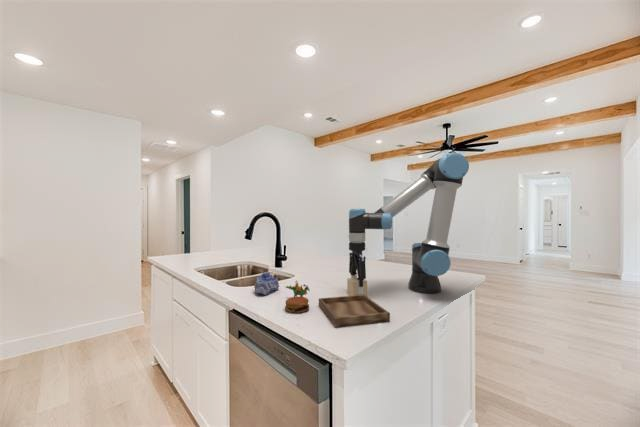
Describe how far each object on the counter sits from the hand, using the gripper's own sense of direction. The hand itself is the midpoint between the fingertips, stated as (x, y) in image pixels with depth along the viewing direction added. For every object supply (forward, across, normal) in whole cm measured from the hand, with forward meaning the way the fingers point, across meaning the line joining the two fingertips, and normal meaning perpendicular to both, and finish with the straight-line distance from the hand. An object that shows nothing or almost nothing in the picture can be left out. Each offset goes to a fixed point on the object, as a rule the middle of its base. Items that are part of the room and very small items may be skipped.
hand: (357, 291), depth 126 cm
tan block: (+2, 0, 0) cm, 2 cm away
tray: (+2, +21, -11) cm, 24 cm away
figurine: (+2, -1, -28) cm, 28 cm away
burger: (+2, +12, -30) cm, 32 cm away
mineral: (+2, -15, -41) cm, 44 cm away
